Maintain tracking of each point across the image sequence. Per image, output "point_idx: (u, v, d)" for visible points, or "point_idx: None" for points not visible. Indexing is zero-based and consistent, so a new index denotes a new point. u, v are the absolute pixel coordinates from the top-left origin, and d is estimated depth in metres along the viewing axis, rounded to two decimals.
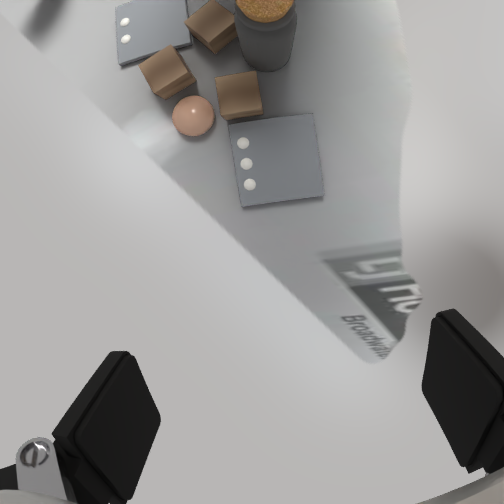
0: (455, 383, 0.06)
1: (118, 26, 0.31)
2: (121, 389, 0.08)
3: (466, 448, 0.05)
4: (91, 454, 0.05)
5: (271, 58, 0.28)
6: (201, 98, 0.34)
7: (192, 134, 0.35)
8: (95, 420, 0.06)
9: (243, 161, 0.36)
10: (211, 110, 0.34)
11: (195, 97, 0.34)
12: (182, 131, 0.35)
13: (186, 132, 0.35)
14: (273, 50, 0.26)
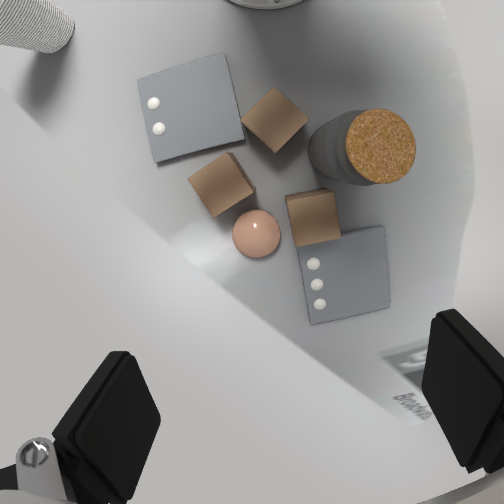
0: (455, 383, 0.06)
1: (146, 108, 0.30)
2: (122, 389, 0.08)
3: (466, 448, 0.05)
4: (91, 454, 0.05)
5: None
6: (265, 215, 0.32)
7: (257, 256, 0.34)
8: (95, 420, 0.06)
9: (313, 282, 0.35)
10: (278, 229, 0.33)
11: (258, 213, 0.32)
12: (245, 252, 0.34)
13: (250, 254, 0.34)
14: None
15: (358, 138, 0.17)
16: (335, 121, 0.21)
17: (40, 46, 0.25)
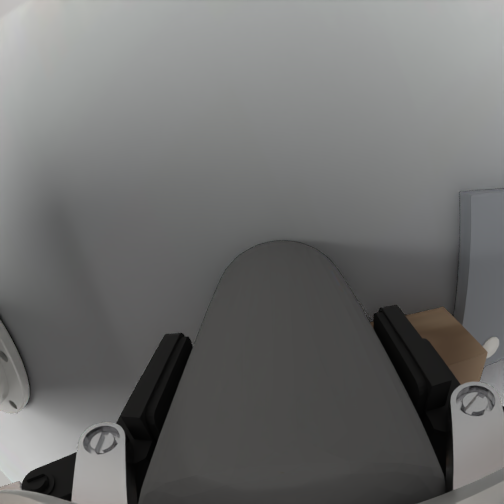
0: None
1: None
2: (182, 369, 0.08)
3: None
4: None
5: None
6: None
7: None
8: (164, 399, 0.07)
9: None
10: None
11: None
12: None
13: None
14: None
15: None
16: None
17: None
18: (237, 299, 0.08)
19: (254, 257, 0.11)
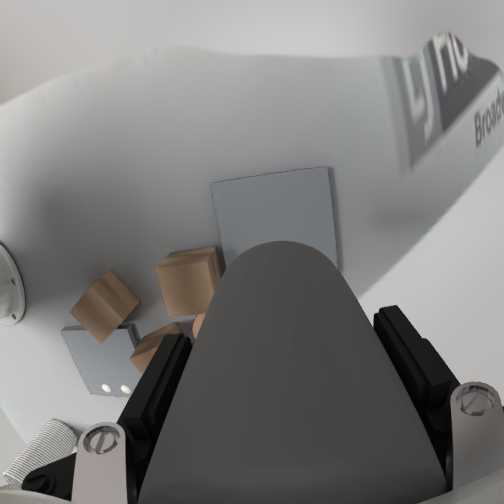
0: None
1: (111, 393, 0.34)
2: (182, 369, 0.08)
3: None
4: None
5: None
6: (201, 315, 0.29)
7: None
8: (164, 399, 0.07)
9: None
10: None
11: (197, 320, 0.30)
12: None
13: None
14: None
15: None
16: None
17: (67, 450, 0.36)
18: (237, 299, 0.08)
19: (254, 257, 0.11)
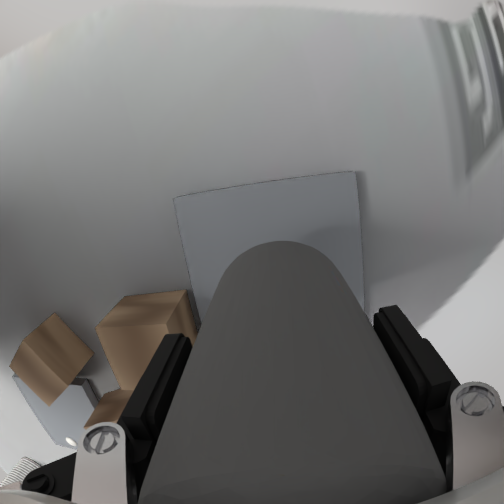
0: None
1: (77, 447, 0.25)
2: (182, 369, 0.08)
3: None
4: None
5: None
6: None
7: None
8: (164, 399, 0.07)
9: None
10: None
11: None
12: None
13: None
14: None
15: None
16: None
17: None
18: (237, 299, 0.08)
19: (254, 257, 0.11)
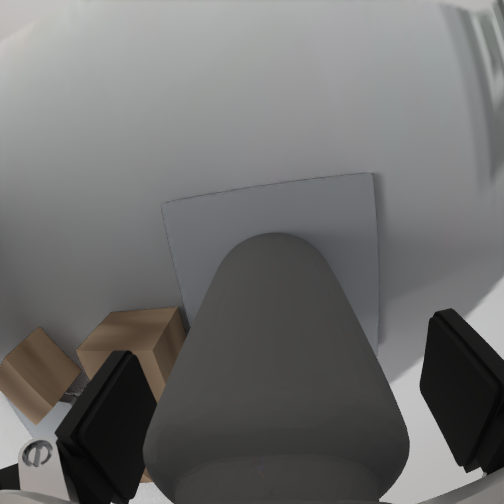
0: (452, 383, 0.06)
1: None
2: (124, 388, 0.08)
3: (464, 448, 0.05)
4: (94, 453, 0.05)
5: None
6: None
7: None
8: (98, 419, 0.06)
9: None
10: None
11: None
12: None
13: None
14: None
15: None
16: None
17: None
18: (232, 279, 0.10)
19: (248, 246, 0.13)
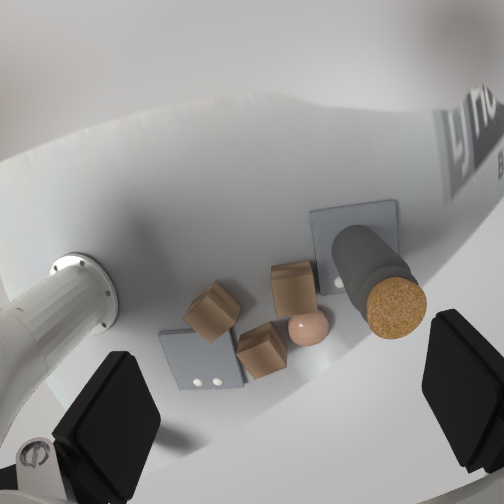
0: (455, 383, 0.06)
1: (201, 387, 0.43)
2: (122, 389, 0.08)
3: (466, 448, 0.05)
4: (91, 454, 0.05)
5: None
6: (327, 326, 0.37)
7: (294, 341, 0.38)
8: (95, 420, 0.06)
9: None
10: (323, 338, 0.38)
11: (325, 321, 0.37)
12: (291, 333, 0.38)
13: (292, 336, 0.38)
14: None
15: (390, 331, 0.21)
16: (357, 309, 0.25)
17: None
18: (354, 240, 0.29)
19: (351, 230, 0.32)
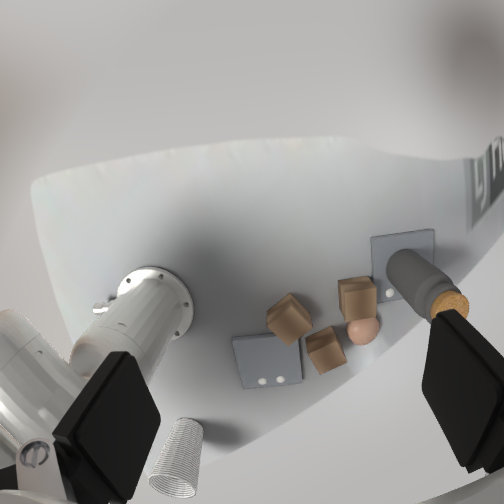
0: (455, 383, 0.06)
1: (265, 385, 0.49)
2: (121, 389, 0.08)
3: (466, 448, 0.05)
4: (91, 454, 0.05)
5: None
6: (367, 342, 0.45)
7: (355, 322, 0.44)
8: (95, 420, 0.06)
9: None
10: (356, 343, 0.45)
11: (371, 339, 0.45)
12: None
13: None
14: None
15: None
16: (418, 313, 0.33)
17: (201, 442, 0.50)
18: (411, 262, 0.36)
19: (403, 253, 0.39)
